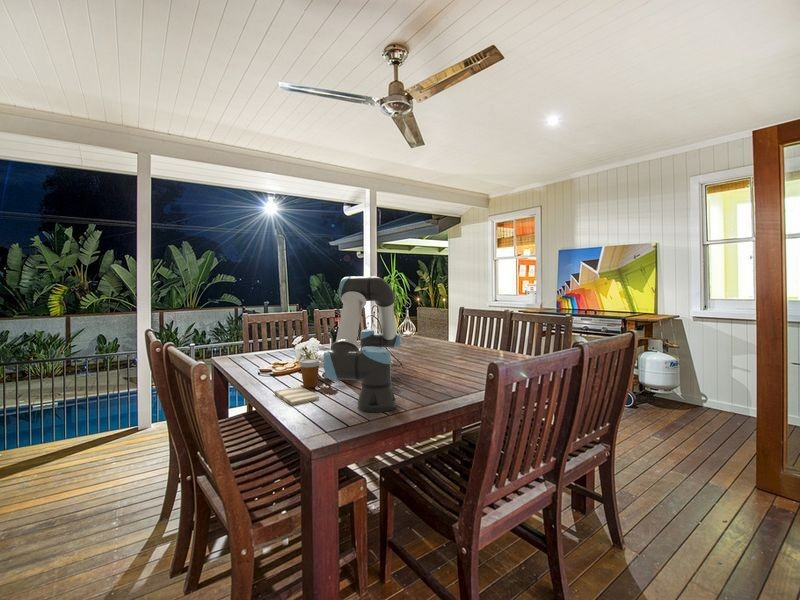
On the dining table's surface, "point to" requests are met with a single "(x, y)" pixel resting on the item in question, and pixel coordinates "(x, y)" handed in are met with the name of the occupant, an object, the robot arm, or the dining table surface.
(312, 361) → the disposable coffee cup
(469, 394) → the dining table surface
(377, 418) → the dining table surface
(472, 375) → the dining table surface
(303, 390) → the serving board
